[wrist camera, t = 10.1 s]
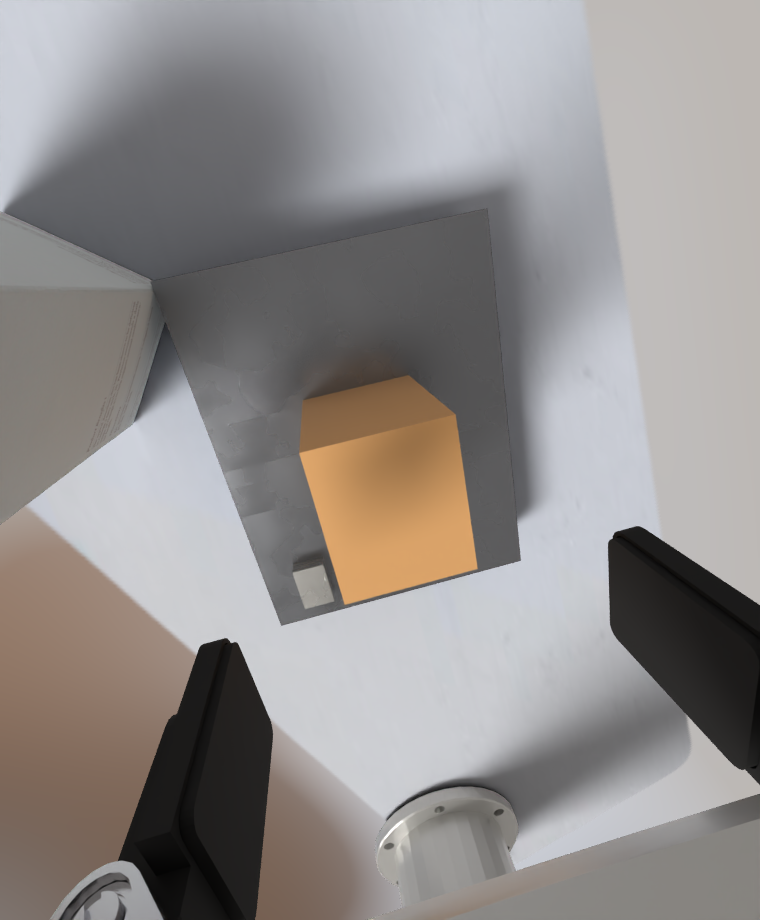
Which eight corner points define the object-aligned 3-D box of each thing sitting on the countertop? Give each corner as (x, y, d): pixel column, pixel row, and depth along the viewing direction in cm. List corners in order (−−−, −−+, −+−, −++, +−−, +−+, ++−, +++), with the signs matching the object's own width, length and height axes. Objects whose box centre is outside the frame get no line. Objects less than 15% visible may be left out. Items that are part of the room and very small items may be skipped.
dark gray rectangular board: (499, 533, 28) (527, 568, 24) (284, 591, 27) (280, 636, 23) (463, 219, 21) (495, 204, 17) (172, 283, 20) (142, 281, 16)
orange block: (426, 506, 25) (483, 610, 17) (341, 528, 24) (357, 645, 16) (400, 368, 22) (455, 414, 14) (303, 392, 21) (299, 453, 13)
